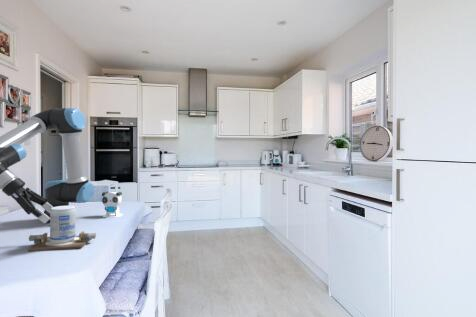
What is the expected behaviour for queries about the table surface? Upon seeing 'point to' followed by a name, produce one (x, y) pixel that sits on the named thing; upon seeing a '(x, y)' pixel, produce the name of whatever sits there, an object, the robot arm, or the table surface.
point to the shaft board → (45, 244)
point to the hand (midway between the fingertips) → (52, 217)
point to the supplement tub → (62, 224)
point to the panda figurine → (112, 204)
